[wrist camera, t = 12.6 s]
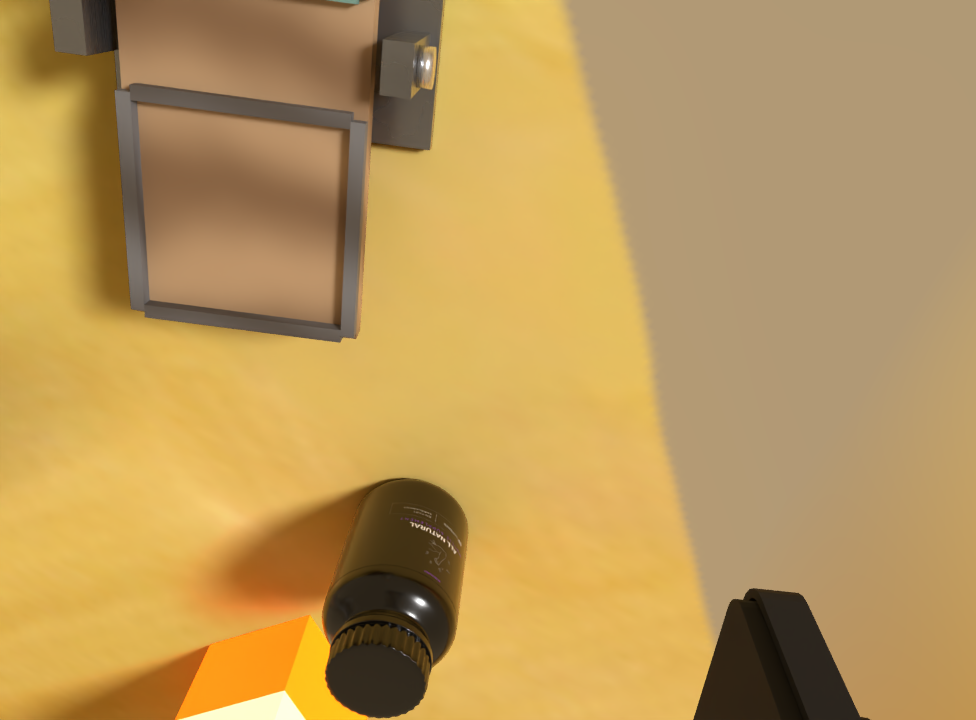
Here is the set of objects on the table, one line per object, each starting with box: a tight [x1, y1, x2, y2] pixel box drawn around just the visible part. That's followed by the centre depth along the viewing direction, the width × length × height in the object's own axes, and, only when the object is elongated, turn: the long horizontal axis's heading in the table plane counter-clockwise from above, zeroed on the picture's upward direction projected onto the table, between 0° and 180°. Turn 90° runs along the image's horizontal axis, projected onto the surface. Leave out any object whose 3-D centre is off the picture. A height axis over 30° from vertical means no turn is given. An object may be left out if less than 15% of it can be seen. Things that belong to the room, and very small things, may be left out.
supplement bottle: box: [322, 479, 468, 718], centre depth 42 cm, size 7×7×12 cm
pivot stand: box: [49, 0, 445, 150], centre depth 33 cm, size 8×15×6 cm, turn 83°
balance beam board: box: [115, 0, 380, 342], centre depth 31 cm, size 24×10×2 cm, turn 173°
